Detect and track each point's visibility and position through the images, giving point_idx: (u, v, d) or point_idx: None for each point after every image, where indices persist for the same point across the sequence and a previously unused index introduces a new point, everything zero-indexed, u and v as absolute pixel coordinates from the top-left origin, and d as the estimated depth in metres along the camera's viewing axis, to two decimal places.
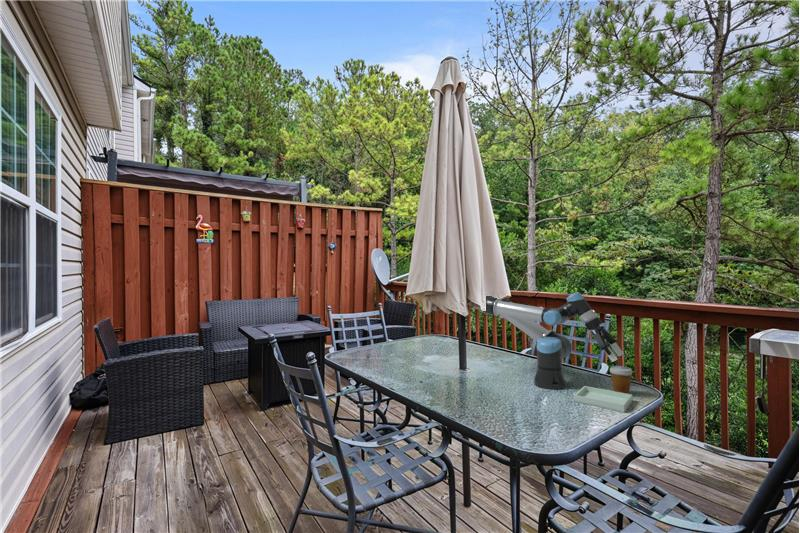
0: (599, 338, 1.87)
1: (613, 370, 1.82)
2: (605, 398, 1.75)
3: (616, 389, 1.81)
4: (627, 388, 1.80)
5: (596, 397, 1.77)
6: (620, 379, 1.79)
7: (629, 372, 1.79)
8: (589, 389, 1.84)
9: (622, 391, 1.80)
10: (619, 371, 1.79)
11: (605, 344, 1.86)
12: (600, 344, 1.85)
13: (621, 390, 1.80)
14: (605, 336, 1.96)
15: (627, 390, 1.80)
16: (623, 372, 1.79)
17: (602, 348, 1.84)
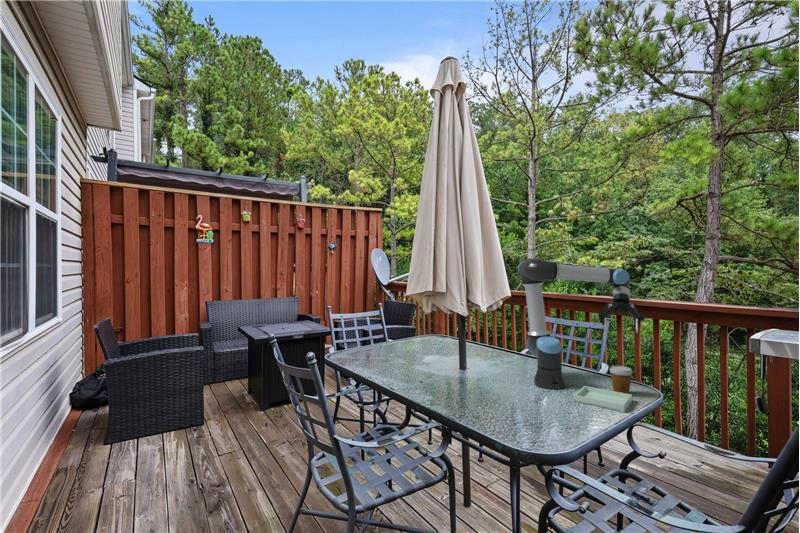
0: None
1: (613, 370, 1.82)
2: (605, 398, 1.75)
3: (616, 389, 1.81)
4: (627, 388, 1.80)
5: (596, 397, 1.77)
6: (620, 379, 1.79)
7: (629, 372, 1.79)
8: (589, 389, 1.84)
9: (622, 391, 1.80)
10: (619, 371, 1.79)
11: None
12: None
13: (621, 390, 1.80)
14: (613, 312, 2.00)
15: (627, 390, 1.80)
16: (623, 372, 1.79)
17: (643, 318, 1.90)
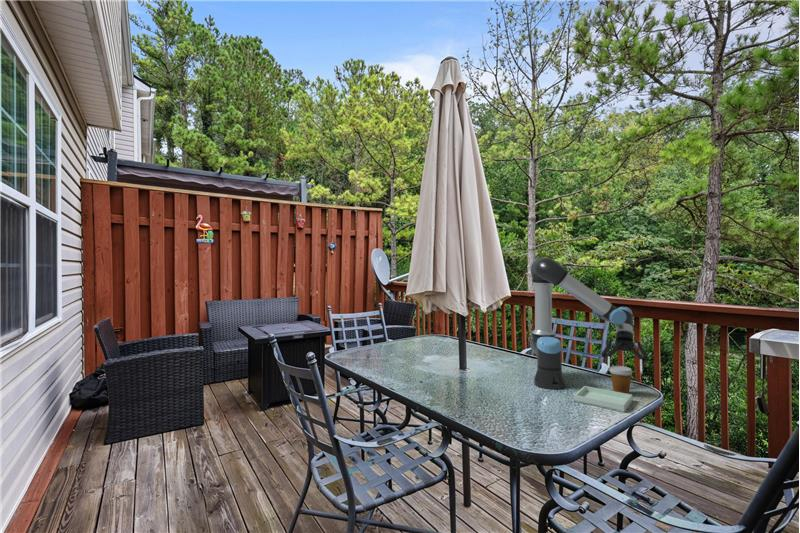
0: None
1: (613, 370, 1.82)
2: (605, 398, 1.75)
3: (616, 389, 1.81)
4: (627, 388, 1.80)
5: (596, 397, 1.77)
6: (620, 379, 1.79)
7: (629, 372, 1.79)
8: (589, 389, 1.84)
9: (622, 391, 1.80)
10: (619, 371, 1.79)
11: None
12: None
13: (621, 390, 1.80)
14: (616, 350, 1.95)
15: (627, 390, 1.80)
16: (623, 372, 1.79)
17: (648, 359, 1.86)
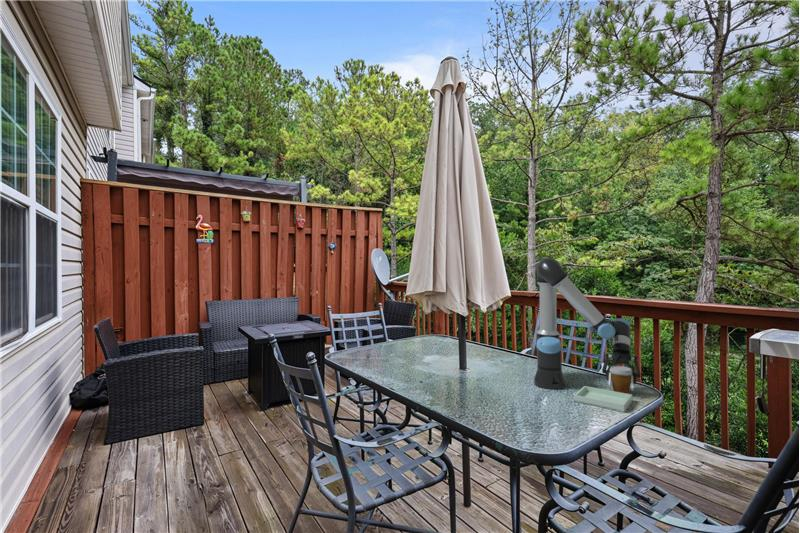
0: None
1: (613, 370, 1.82)
2: (605, 398, 1.75)
3: (616, 389, 1.81)
4: (627, 388, 1.80)
5: (596, 397, 1.77)
6: (620, 379, 1.79)
7: (629, 372, 1.79)
8: (589, 389, 1.84)
9: (622, 391, 1.80)
10: (619, 371, 1.79)
11: None
12: (639, 371, 1.81)
13: (621, 390, 1.80)
14: (615, 364, 1.89)
15: (627, 390, 1.80)
16: (623, 372, 1.79)
17: (639, 375, 1.80)
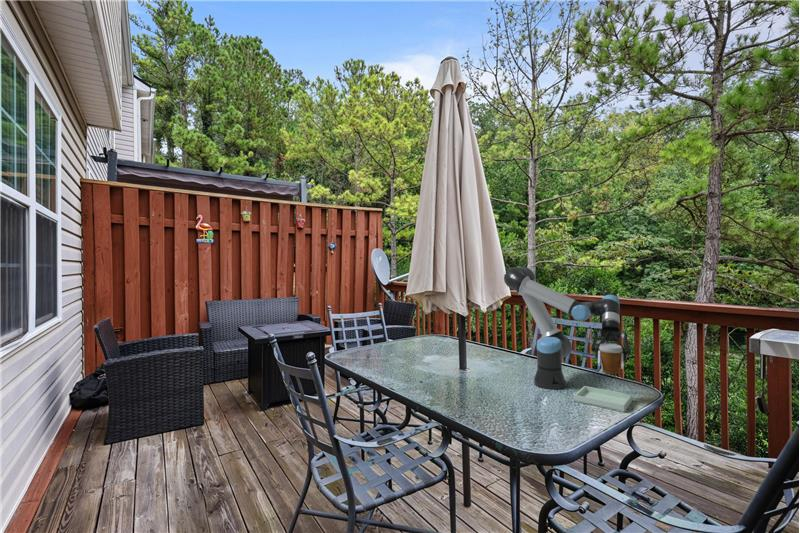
0: None
1: (603, 348, 1.74)
2: (605, 398, 1.75)
3: (606, 368, 1.74)
4: (617, 366, 1.72)
5: (596, 397, 1.77)
6: (610, 357, 1.72)
7: (619, 349, 1.71)
8: (589, 389, 1.84)
9: (612, 369, 1.72)
10: (609, 349, 1.71)
11: None
12: (629, 349, 1.74)
13: (611, 368, 1.72)
14: (604, 342, 1.81)
15: (617, 368, 1.72)
16: (613, 350, 1.71)
17: (629, 352, 1.73)
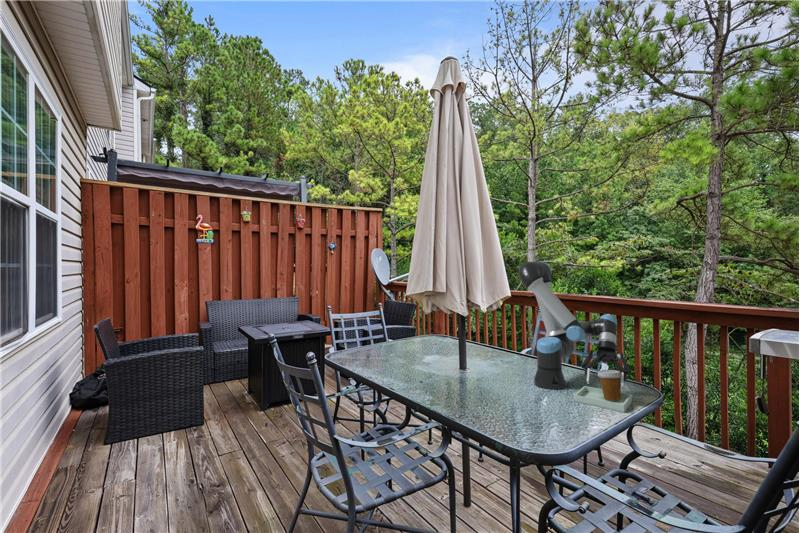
0: None
1: (601, 374, 1.73)
2: None
3: (606, 394, 1.72)
4: (617, 391, 1.70)
5: (596, 397, 1.77)
6: (609, 383, 1.71)
7: (617, 374, 1.70)
8: (589, 389, 1.84)
9: (612, 395, 1.70)
10: (607, 374, 1.71)
11: None
12: None
13: (611, 394, 1.70)
14: (597, 361, 1.81)
15: (618, 394, 1.70)
16: (611, 375, 1.70)
17: (630, 372, 1.71)
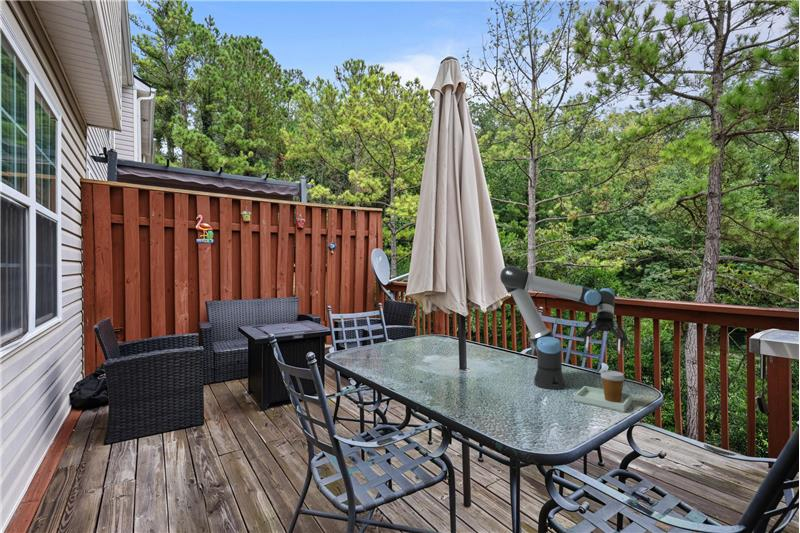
0: None
1: (604, 375, 1.72)
2: None
3: (608, 396, 1.71)
4: (619, 394, 1.70)
5: (596, 397, 1.77)
6: (612, 385, 1.70)
7: (621, 377, 1.69)
8: (589, 389, 1.84)
9: (614, 397, 1.70)
10: (611, 376, 1.69)
11: None
12: None
13: (613, 396, 1.70)
14: (596, 330, 1.93)
15: (619, 396, 1.70)
16: (615, 377, 1.69)
17: (626, 339, 1.83)
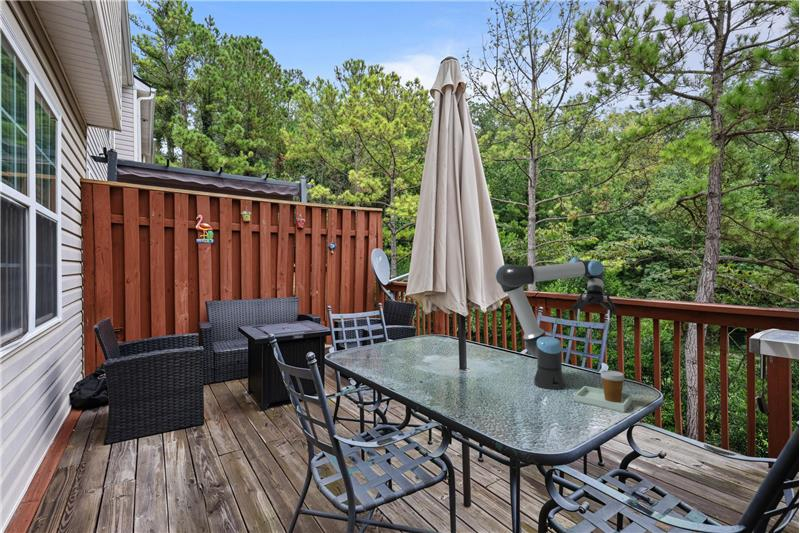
0: None
1: (604, 375, 1.72)
2: None
3: (608, 396, 1.71)
4: (619, 394, 1.70)
5: (596, 397, 1.77)
6: (612, 385, 1.70)
7: (621, 377, 1.69)
8: (589, 389, 1.84)
9: (614, 397, 1.70)
10: (611, 376, 1.69)
11: None
12: None
13: (613, 396, 1.70)
14: (586, 303, 2.01)
15: (619, 396, 1.70)
16: (615, 377, 1.69)
17: (615, 309, 1.92)
